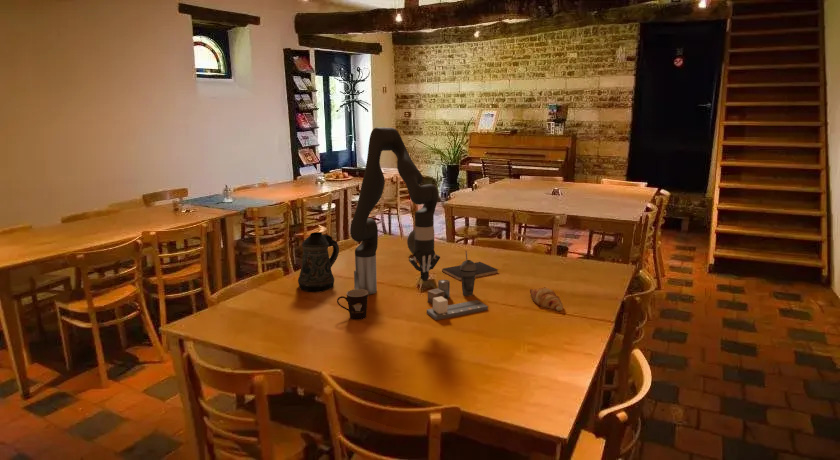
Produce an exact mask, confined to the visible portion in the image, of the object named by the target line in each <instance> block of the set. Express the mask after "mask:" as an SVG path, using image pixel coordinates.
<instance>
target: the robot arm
mask: <svg viewBox="0 0 840 460" xmlns="http://www.w3.org/2000/svg"><path fill="white" fill-rule="evenodd" d="M383 151H385V152H387V151H388V152H389V151H391V152H392V153H393V154H394V155H395V156H396V158H397V159H396V160H397V161H396V163H397V164H396V166H397V168H396V169H397V172H398V174H399V176H400V178H401V179H402V180H403V182H404V184H405V185H406V188H407V191H408V195H409V198H410V200H411V202H412V203H413V204H416V205H423V206H422V208H420V209H418V210H416V211H415V214H414V229H415V253H414V254H413V256H412V257H410V258H408V262H409V263H410V265H412V266H413V267H414V269H415V270H416V271H418V272H420V280H421V281H423V282H427V281H428V280H429V279H430V274H429V273H430V271H432V270H433V269H434V268H435V266H436V265H437V263H438V262H439V260H440V259H441V256H440V255H439V254H436V251H435V227H434V226H435V225H434V222H435V219H434V216H435V215H434V214H435V211H436V208H437V203H438V201H439V191H438V189H437V186H436V185H434V184H432V183H429V184H422V183H423V180H424V177H423V175H422V173H421V171H420V169H418V167H417V166H416V165H415V163H414V162H413V160H412V158H411V156H410V153H409V152H408V150H407V147H406V146H405V143H404V141H403V138H402V137H401V135H400V133H399V132H398V130H397V128H394V127H390V126H387V127H384V126H382V127H381V126H379V127H378V126H377V127H374V128H373V129H372V130H371V132H370V136H369V141H368V149H367V158H366V163H365V169H364V174H363V178H362V181H361V186H360V192H359V197H358V201H357V204H356V209H355V212H354V214H353V218H352V220H351V223H350V230H349V233H350V236H351V239H352V240H353V241H354V242H360V244H359V245H358V246H357V247H355V249H354V263H355V264H354V267H355V270H354V271H353V277H354V280H353V283H354V289H363V290H367V291H368V296H369V295H373V294H376V293H377V292H378V291H377V290H378V284H377V280H378V279H377V250H378V243H379V242H378V241H379V239H378V237H379V230H378V224H377V222H376V220H375V219H374V218H372V217H371V218H370V215H371V212H372V211H373V210H374V208H375V207H376V206H377V204H378V203H379V201H380V200H381V198H382V196H383V192H384V188H385V184H386V180H385V176H384V172H383V170H382V167H381V157H382V156H381V155H382V152H383ZM417 262H418V263H417Z"/></svg>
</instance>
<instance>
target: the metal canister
mask: <svg viewBox="0 0 840 460" xmlns="http://www.w3.org/2000/svg"><path fill="white" fill-rule="evenodd" d="M450 284H451V283H450V280H448V279H440V280H438V281H437V289H439V290H442V291H444V298H445V299H446V300H448V299H449V298H450V292H451V291H450V288H451V287H450Z"/></svg>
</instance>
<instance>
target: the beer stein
mask: <svg viewBox="0 0 840 460" xmlns="http://www.w3.org/2000/svg"><path fill="white" fill-rule="evenodd" d="M301 247H302V257H301V265H300V266H301V267H300V272H299V276H298V279H297V283H298V287H299V289H300V290H301V291H302V292H306V293H317V292H319V293H321V292H325V291H329V290H331V289H332V288H334V286H335V285H334V283H335V277H334V275H333V274H334V273H333V272H332V267H333V265H334V264H335V263H336V261H337V259H338V256H339V253H340V247H339V244H338V241H336V240H334V239H333V237H332V235H331V236H330V235H328V234H323V233H322V232H318V231H316V232H311V233H310V234H309V236H307V238H306V239H305V240H303V241H302V243H301ZM329 247H332V253H331V255H330V254H329Z"/></svg>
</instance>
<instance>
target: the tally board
mask: <svg viewBox="0 0 840 460" xmlns="http://www.w3.org/2000/svg"><path fill="white" fill-rule="evenodd" d="M488 307H489V306H488V305H486V304H485V303H483V302H482V301H480V300H478V299H476V300H475V299H474V300H469V301H465V302H459V303H455V304H448V312H446V313H441V314H438V313H437V312H435V311H434V310H433V308H428V309H426V314H427V315H429V316H430V317H431V318H432V319H434V320H435V321H439V320H444V319H449V318H454V317H459V316H464V315H469V314H473V313H478V312H483V311H484V312H485V311H488V310H489V308H488Z"/></svg>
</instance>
